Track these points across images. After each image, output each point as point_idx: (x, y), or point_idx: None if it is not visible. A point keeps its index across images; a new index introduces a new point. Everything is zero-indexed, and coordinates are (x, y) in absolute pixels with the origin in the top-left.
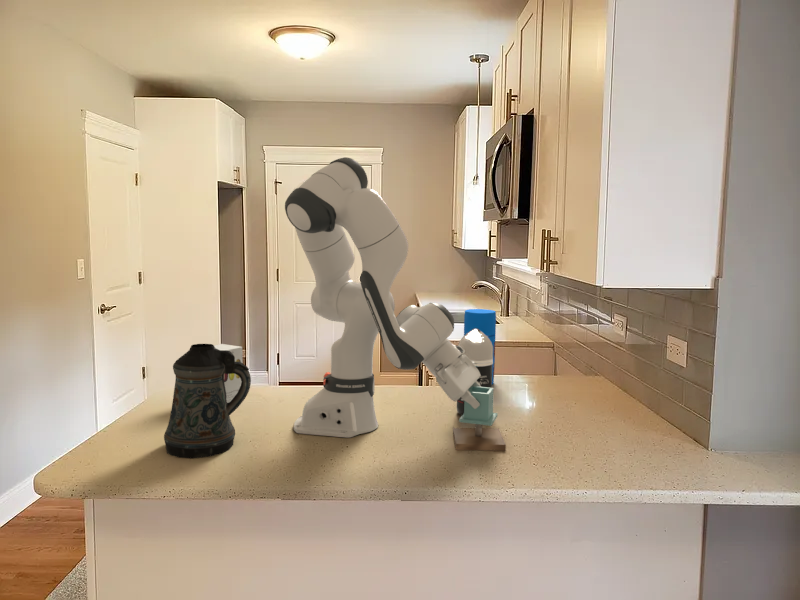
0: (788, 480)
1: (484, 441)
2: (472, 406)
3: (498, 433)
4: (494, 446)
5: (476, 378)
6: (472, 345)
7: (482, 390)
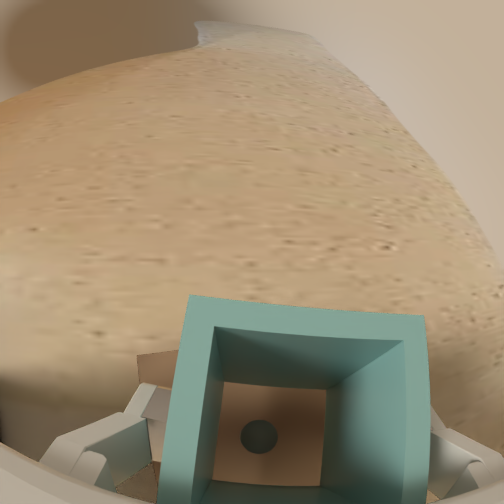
0: (281, 29)
1: (316, 402)
2: None
3: None
4: None
5: (56, 480)
6: None
7: (203, 413)
